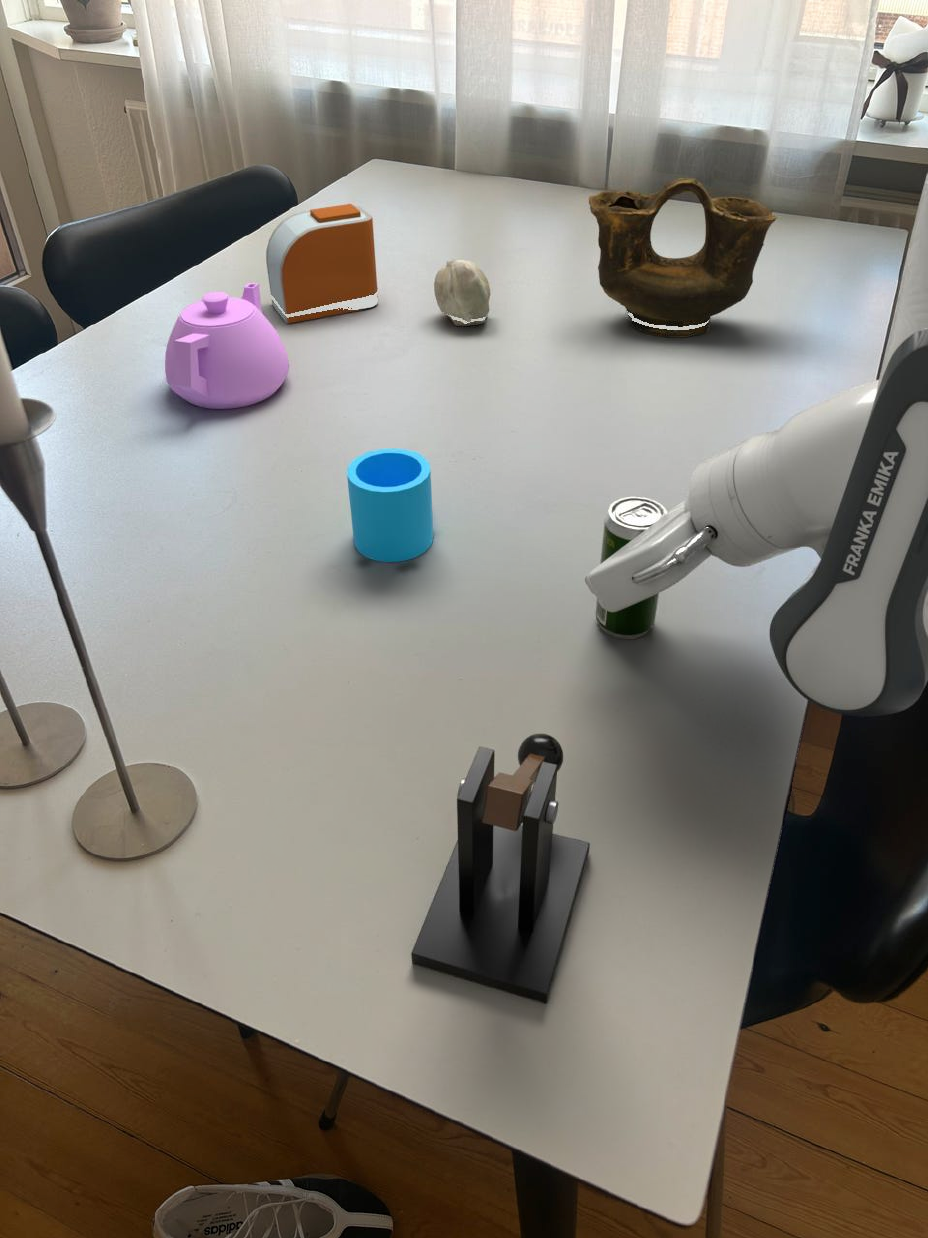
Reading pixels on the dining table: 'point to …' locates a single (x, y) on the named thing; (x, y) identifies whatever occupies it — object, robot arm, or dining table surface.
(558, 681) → the dining table surface
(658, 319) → the pottery vessel
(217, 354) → the teapot
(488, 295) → the garlic bulb
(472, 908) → the bracket
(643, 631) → the green drink can
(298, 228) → the orange and white toaster
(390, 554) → the mug
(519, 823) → the lever
